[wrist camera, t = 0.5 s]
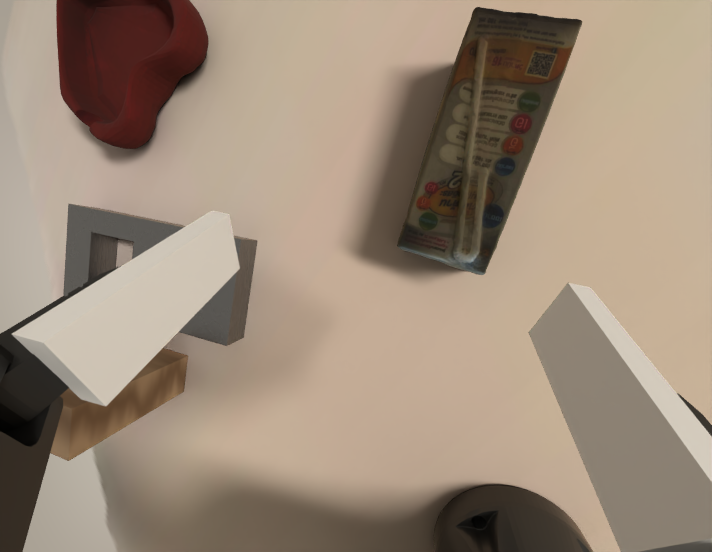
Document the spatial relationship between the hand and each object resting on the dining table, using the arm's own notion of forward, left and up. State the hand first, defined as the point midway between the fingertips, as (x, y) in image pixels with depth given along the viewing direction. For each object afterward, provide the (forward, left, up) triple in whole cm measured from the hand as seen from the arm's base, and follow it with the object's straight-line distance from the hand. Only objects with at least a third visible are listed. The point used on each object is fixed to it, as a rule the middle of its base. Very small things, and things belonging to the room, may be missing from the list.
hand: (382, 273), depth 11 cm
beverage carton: (+10, -5, -18) cm, 21 cm away
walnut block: (-20, +27, -17) cm, 37 cm away
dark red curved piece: (+17, +35, -18) cm, 43 cm away
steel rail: (-7, +29, -17) cm, 34 cm away
